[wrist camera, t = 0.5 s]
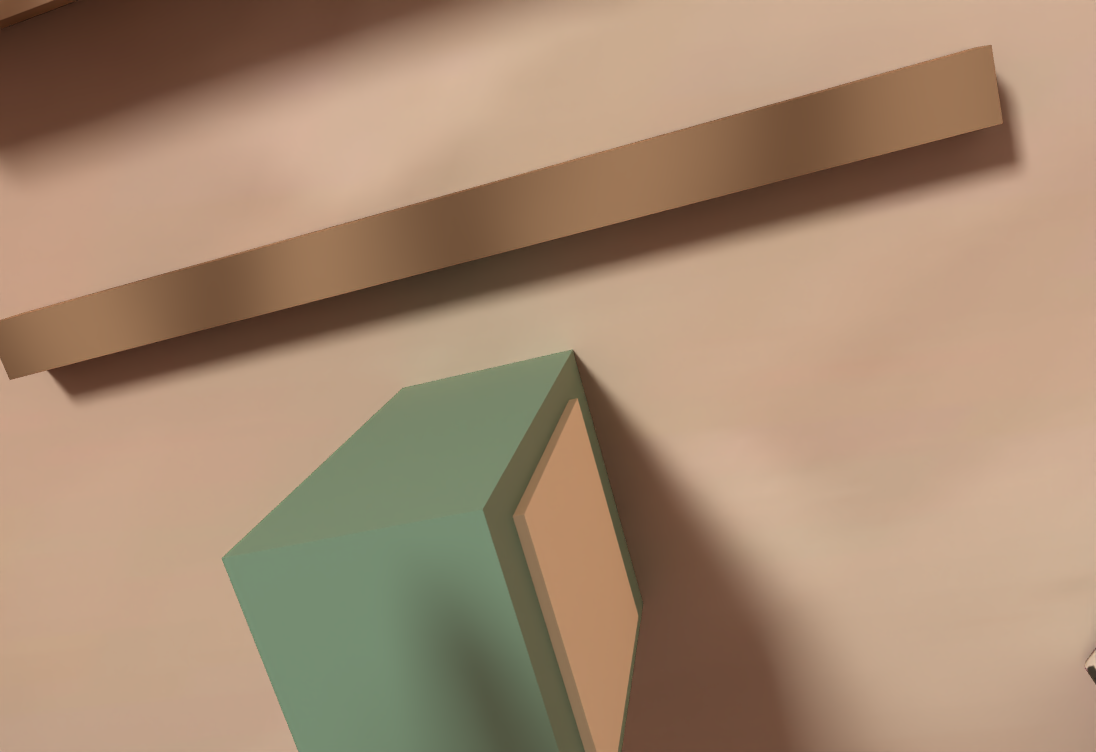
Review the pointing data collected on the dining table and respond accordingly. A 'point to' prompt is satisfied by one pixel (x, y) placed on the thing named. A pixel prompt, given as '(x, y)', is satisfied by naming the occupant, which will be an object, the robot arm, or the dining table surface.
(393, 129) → the dining table surface
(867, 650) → the dining table surface
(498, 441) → the tea box
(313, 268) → the shelf slot
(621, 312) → the dining table surface
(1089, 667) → the candy bar box
